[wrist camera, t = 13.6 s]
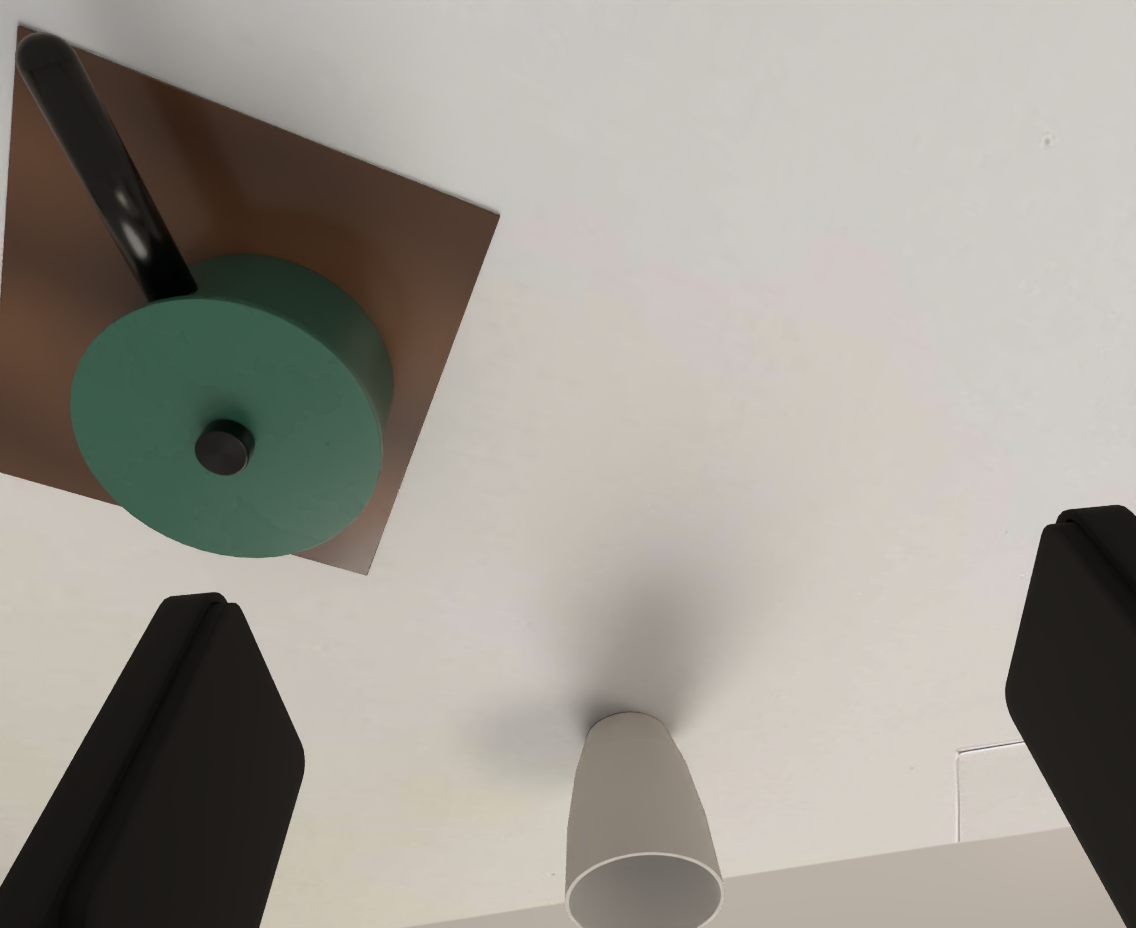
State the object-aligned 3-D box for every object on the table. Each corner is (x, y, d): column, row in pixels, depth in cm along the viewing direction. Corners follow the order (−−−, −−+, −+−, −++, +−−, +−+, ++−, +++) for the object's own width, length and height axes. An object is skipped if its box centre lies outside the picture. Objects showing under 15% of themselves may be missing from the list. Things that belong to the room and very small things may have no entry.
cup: (571, 790, 54) (577, 951, 46) (550, 703, 50) (552, 864, 41) (699, 774, 54) (729, 934, 45) (688, 685, 49) (720, 844, 41)
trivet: (21, 24, 30) (17, 25, 30) (500, 214, 34) (499, 216, 34) (-8, 466, 40) (-11, 469, 40) (367, 572, 44) (366, 576, 44)
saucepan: (208, 506, 41) (157, 599, 36) (-58, 65, 31) (-190, 99, 25) (436, 452, 40) (420, 539, 35) (241, -28, 29) (173, -14, 24)
